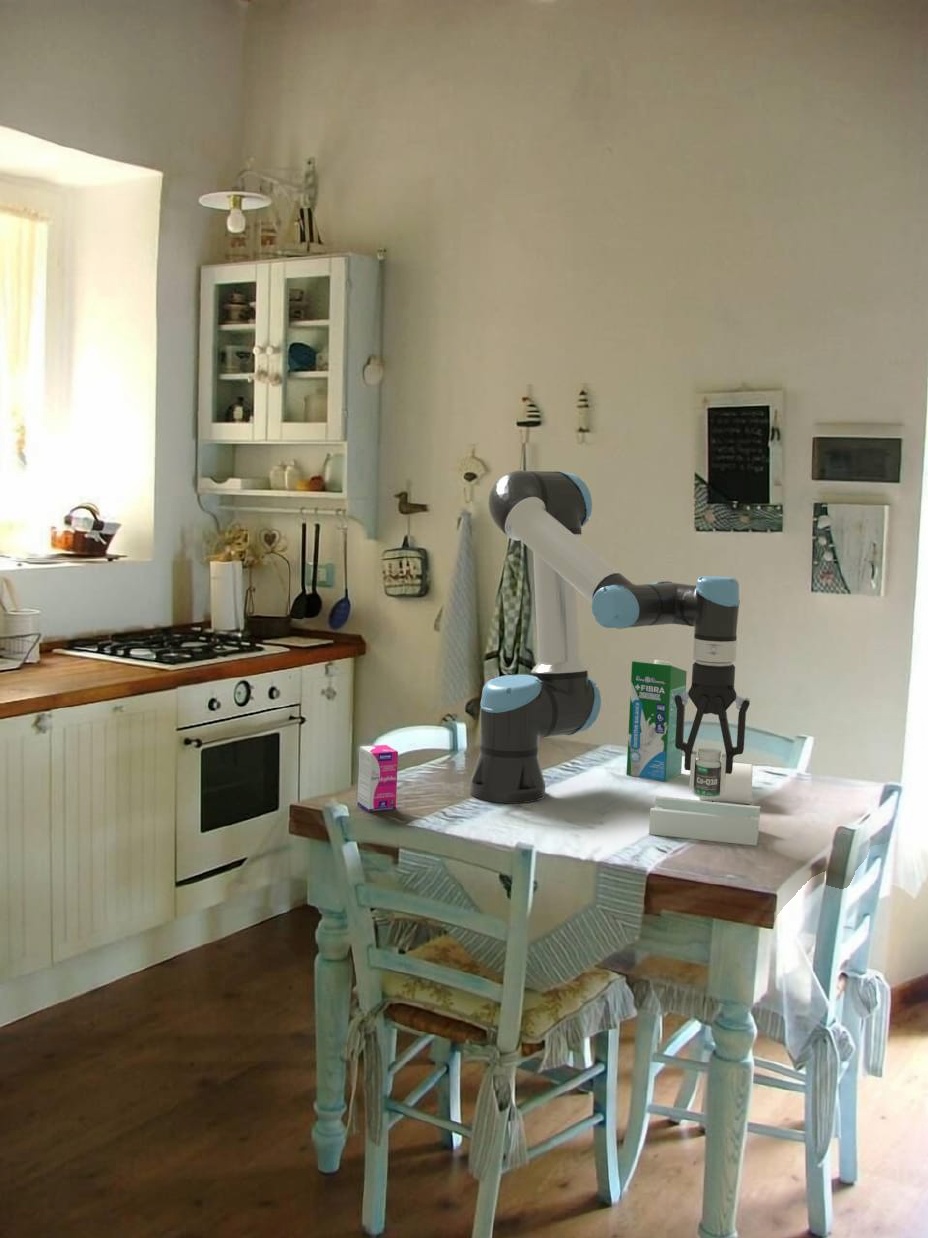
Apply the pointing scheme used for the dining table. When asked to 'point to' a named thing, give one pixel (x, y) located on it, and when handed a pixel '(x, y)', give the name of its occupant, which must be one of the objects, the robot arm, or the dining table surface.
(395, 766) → the supplement box
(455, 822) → the dining table surface
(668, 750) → the milk carton
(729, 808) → the tray
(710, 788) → the pill bottle
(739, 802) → the mug
